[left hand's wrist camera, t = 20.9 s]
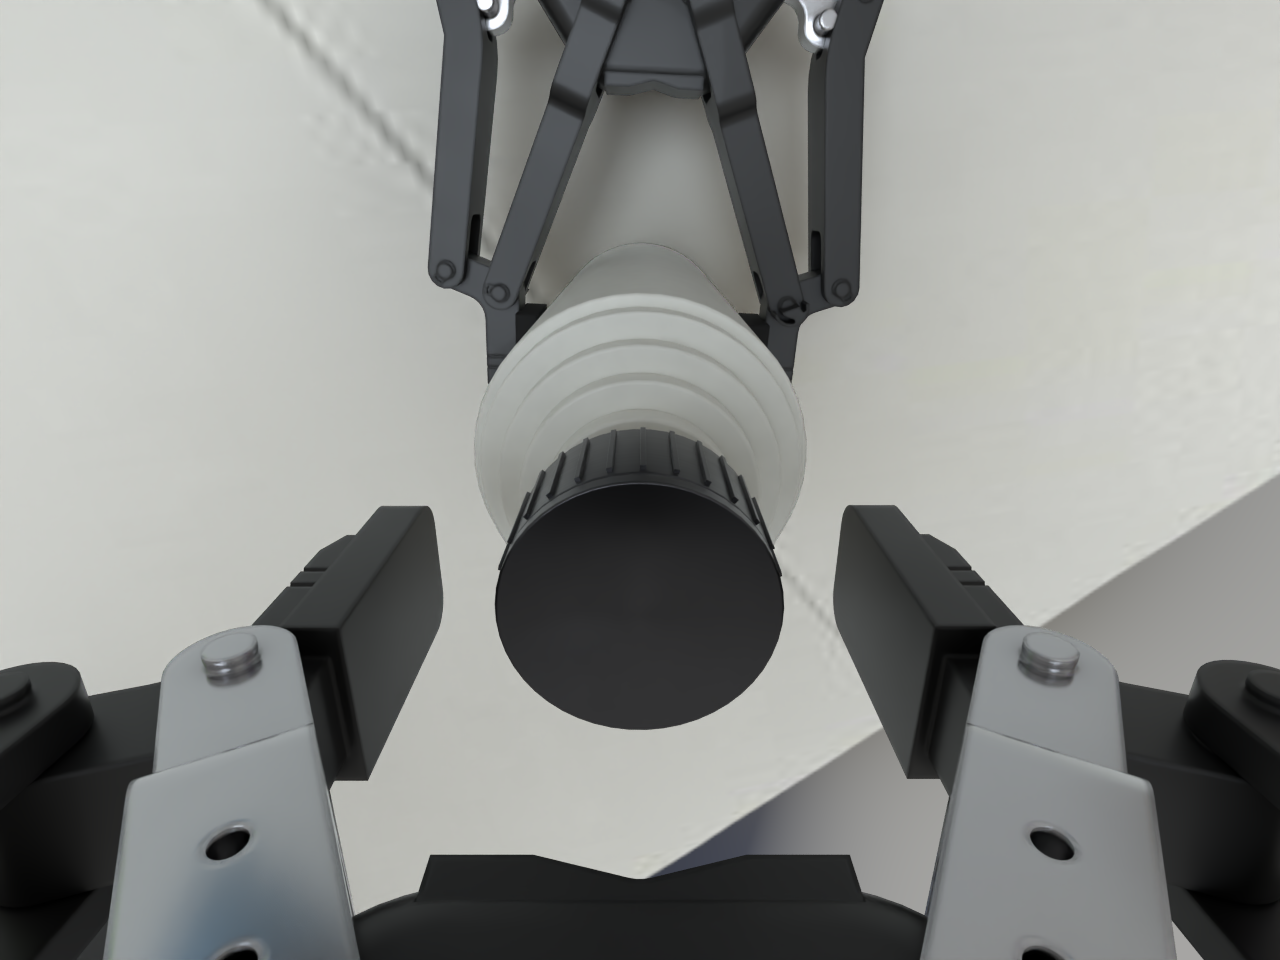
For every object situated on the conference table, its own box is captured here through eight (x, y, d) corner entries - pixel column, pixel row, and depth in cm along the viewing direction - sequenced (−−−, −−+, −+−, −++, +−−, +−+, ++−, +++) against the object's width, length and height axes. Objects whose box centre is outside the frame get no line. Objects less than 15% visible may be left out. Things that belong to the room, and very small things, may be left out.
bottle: (545, 256, 31) (322, 388, 9) (712, 230, 30) (885, 304, 9) (576, 416, 33) (457, 805, 12) (729, 394, 33) (893, 756, 12)
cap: (787, 609, 12) (817, 693, 10) (567, 668, 13) (552, 761, 11) (725, 391, 11) (745, 438, 9) (480, 467, 11) (442, 528, 9)
